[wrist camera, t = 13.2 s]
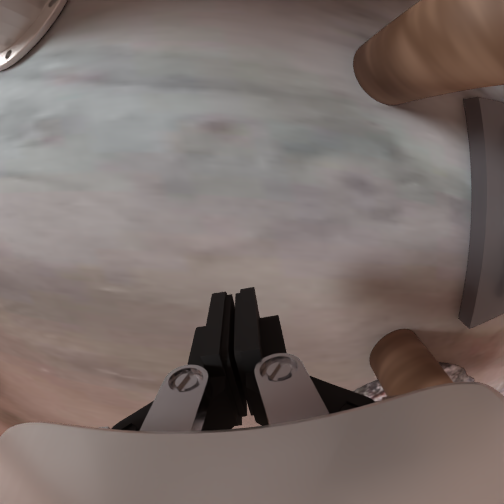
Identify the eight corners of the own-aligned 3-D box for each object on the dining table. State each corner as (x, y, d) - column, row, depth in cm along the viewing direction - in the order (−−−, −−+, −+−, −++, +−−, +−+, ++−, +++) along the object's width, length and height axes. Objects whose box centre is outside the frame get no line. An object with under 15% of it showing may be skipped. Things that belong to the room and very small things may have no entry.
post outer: (371, 336, 22) (448, 470, 9) (420, 323, 22) (509, 432, 9) (367, 377, 24) (423, 500, 11) (412, 364, 24) (479, 470, 11)
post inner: (346, 39, 15) (471, -67, 2) (406, 45, 15) (544, -15, 2) (360, 104, 16) (532, 59, 3) (419, 106, 16) (583, 93, 3)
